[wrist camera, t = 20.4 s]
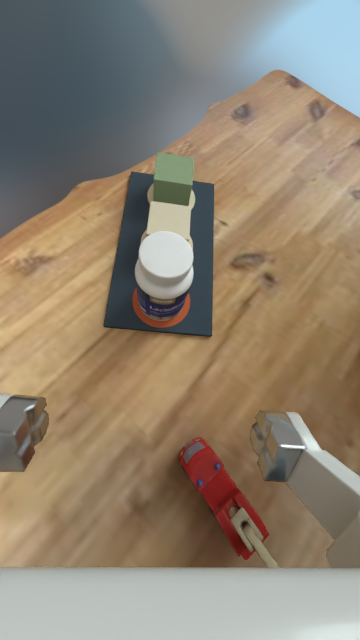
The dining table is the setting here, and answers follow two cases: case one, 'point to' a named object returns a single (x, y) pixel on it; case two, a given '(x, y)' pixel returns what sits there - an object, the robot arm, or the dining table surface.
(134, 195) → the mat
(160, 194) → the sage block
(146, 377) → the dining table surface
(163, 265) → the pill bottle
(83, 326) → the dining table surface
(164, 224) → the cream block
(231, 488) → the toy fire truck
